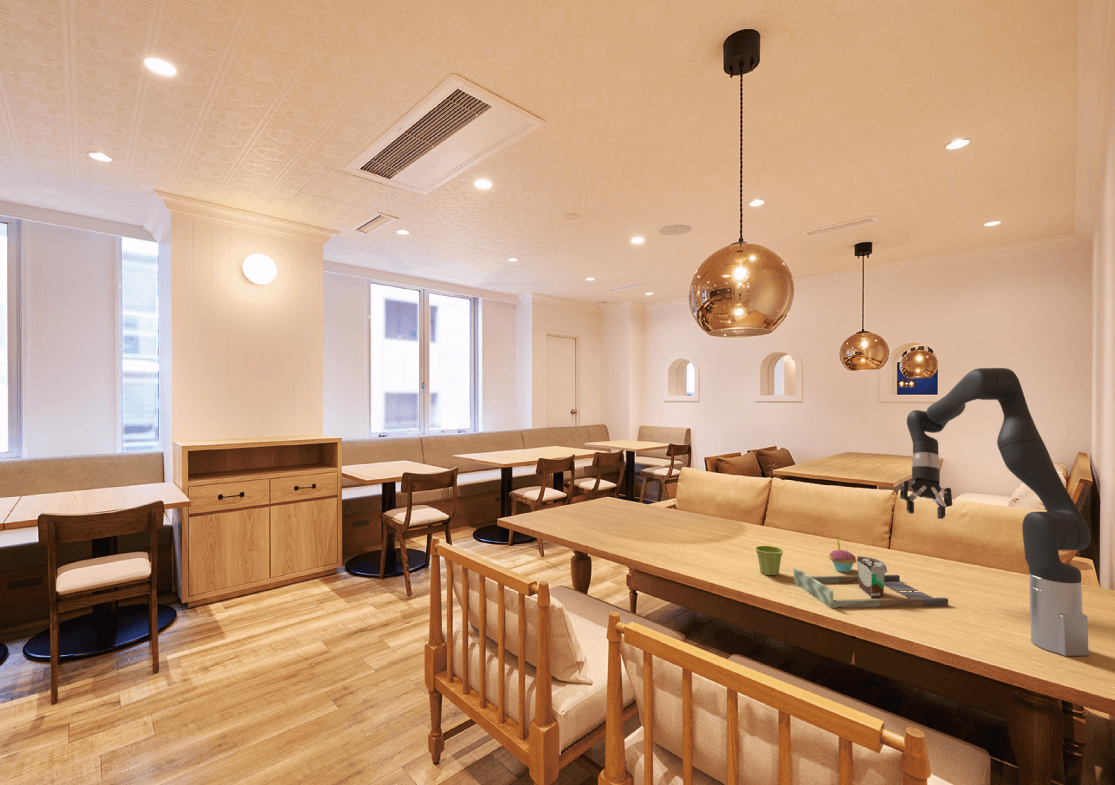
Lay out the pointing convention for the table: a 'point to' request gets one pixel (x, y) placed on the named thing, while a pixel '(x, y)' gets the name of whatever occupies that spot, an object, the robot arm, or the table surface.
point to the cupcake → (842, 559)
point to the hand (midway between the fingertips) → (925, 515)
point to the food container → (871, 576)
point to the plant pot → (769, 559)
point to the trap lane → (893, 581)
